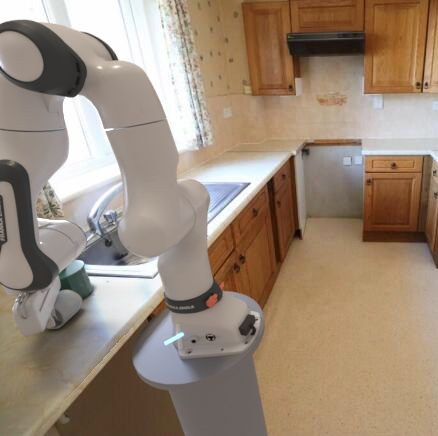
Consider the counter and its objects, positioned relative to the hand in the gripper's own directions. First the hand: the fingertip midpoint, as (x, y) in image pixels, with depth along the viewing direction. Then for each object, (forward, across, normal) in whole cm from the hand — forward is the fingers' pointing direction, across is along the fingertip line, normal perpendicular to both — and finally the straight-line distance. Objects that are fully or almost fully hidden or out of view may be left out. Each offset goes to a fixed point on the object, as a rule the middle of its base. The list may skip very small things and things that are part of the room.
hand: (52, 324), depth 80 cm
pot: (+4, +19, 0) cm, 19 cm away
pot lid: (-5, +19, 0) cm, 19 cm away
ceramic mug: (+4, +7, +1) cm, 8 cm away
